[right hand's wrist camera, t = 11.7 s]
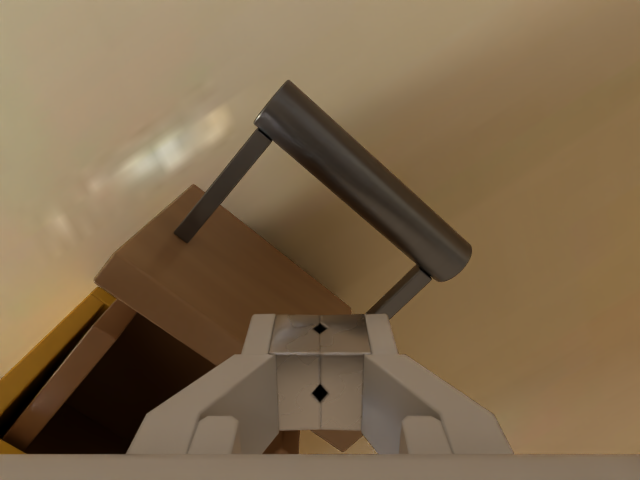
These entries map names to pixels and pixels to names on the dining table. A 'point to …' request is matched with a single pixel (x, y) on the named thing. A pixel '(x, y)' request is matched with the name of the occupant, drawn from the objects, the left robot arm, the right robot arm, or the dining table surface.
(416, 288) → the drawer
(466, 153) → the dining table surface
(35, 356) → the cabinet
